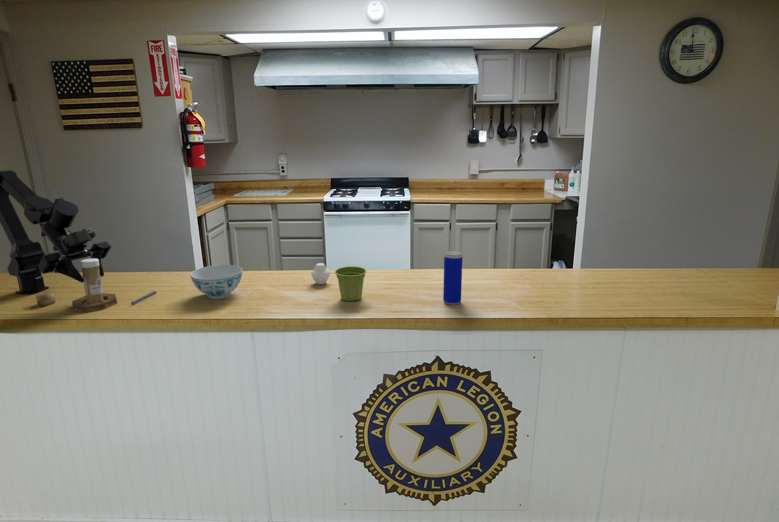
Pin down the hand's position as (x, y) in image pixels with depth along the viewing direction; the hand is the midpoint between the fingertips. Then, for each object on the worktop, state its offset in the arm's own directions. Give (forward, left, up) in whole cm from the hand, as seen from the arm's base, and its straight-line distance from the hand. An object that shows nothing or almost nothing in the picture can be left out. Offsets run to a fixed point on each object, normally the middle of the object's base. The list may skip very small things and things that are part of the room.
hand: (93, 278), depth 138 cm
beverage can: (+102, +21, -8) cm, 104 cm away
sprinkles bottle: (-1, +1, -8) cm, 8 cm away
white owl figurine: (+58, +31, -8) cm, 66 cm away
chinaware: (+31, +14, -8) cm, 35 cm away
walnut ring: (-1, 0, -8) cm, 8 cm away
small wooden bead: (-16, -2, -8) cm, 18 cm away
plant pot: (+72, +19, -8) cm, 75 cm away
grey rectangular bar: (+10, +7, -8) cm, 15 cm away
